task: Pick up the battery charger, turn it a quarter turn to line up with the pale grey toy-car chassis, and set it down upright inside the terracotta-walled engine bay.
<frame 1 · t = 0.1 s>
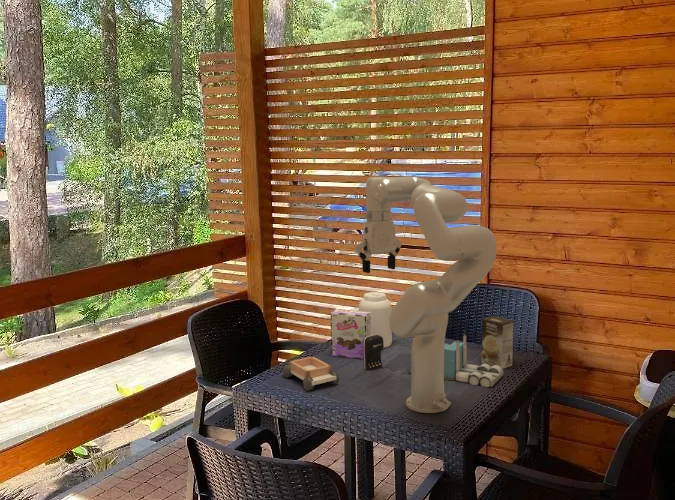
hand: (379, 270, 212), 37 cm above the table, tool pointing down, fingers open, 9 cm apart
candy box: (351, 356, 245), on the table
chassis: (310, 380, 220), on the table
white jar: (375, 345, 258), on the table
battery charger: (374, 368, 231), on the table
coffee box: (496, 364, 233), on the table
truck: (455, 376, 223), on the table
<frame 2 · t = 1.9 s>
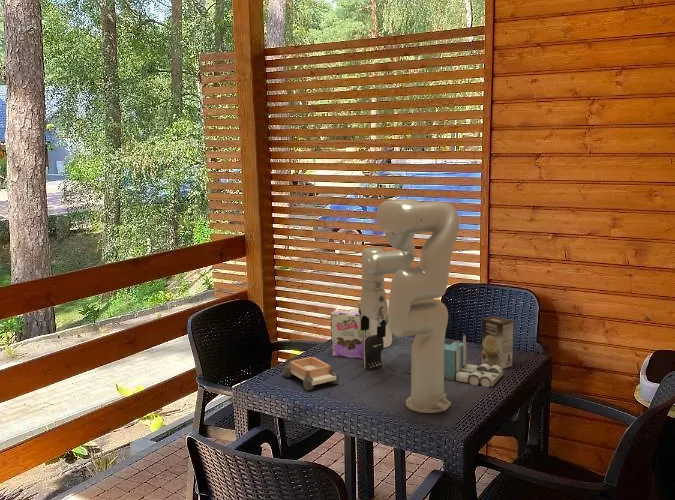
hand: (372, 333, 230), 12 cm above the table, tool pointing down, fingers open, 9 cm apart
nothing on the table moved.
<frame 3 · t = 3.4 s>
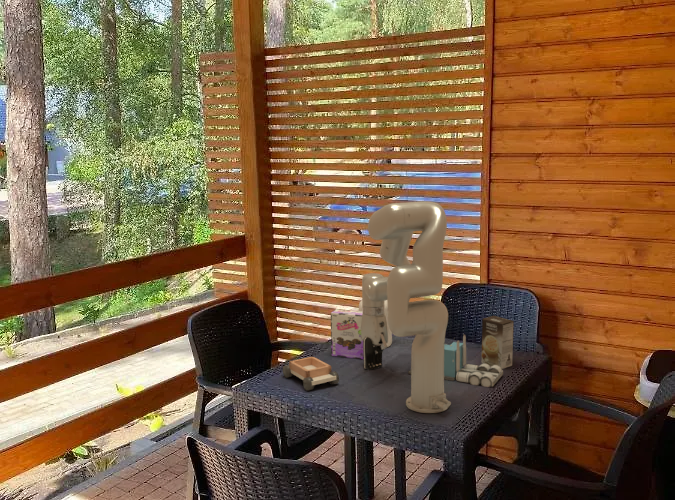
hand: (373, 361, 231), 2 cm above the table, tool pointing down, fingers closed on battery charger, 3 cm apart
battery charger: (374, 368, 231), on the table, touching gripper
everything else where it was.
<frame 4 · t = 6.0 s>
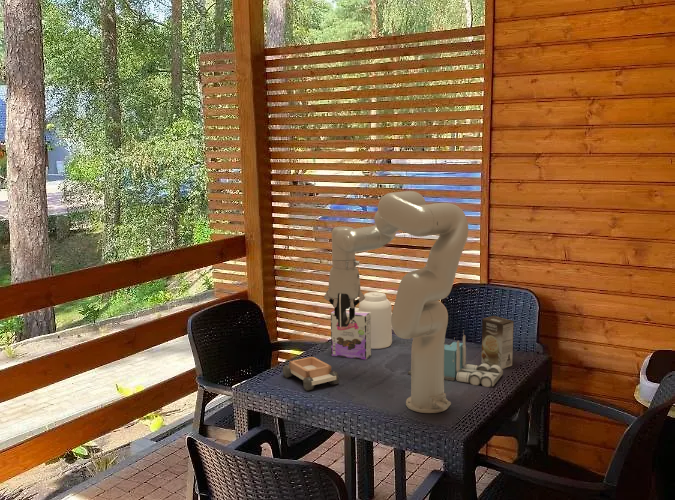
hand: (344, 318, 223), 19 cm above the table, tool pointing down, fingers closed on battery charger, 3 cm apart
battery charger: (345, 325, 224), point 17 cm above the table, touching gripper
everything else where it was.
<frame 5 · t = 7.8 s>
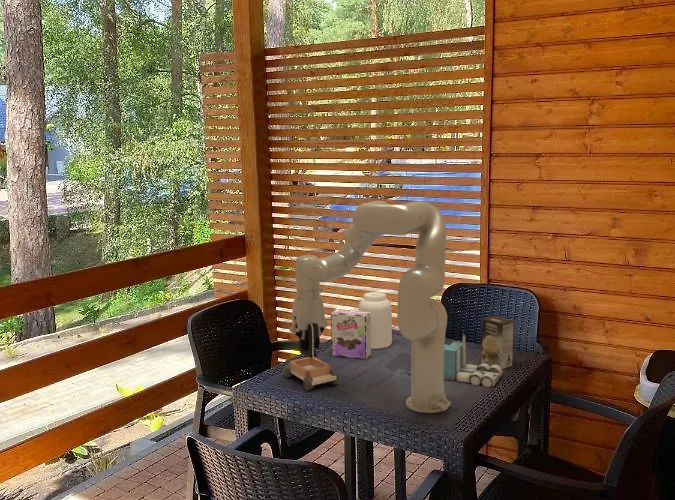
hand: (309, 348, 219), 11 cm above the table, tool pointing down, fingers closed on battery charger, 3 cm apart
battery charger: (310, 355, 219), point 8 cm above the table, touching gripper
everything else where it was.
when the fingers open (6 cm above the table, at t = 9.0 s): battery charger stays where it is, resting on chassis.
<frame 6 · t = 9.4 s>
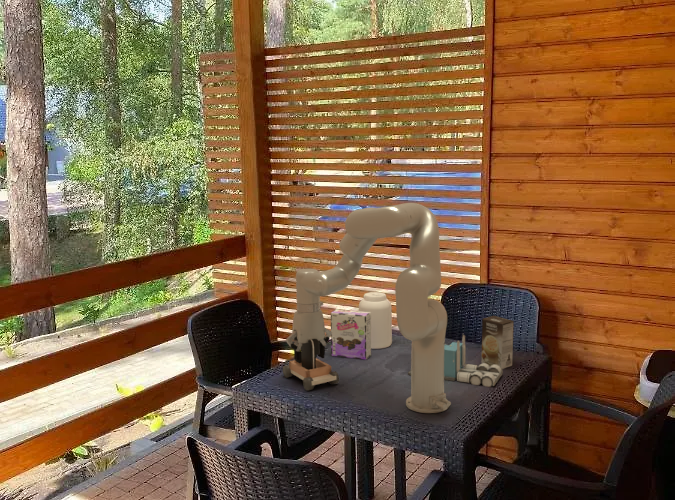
hand: (309, 359, 219), 7 cm above the table, tool pointing down, fingers open, 8 cm apart
battery charger: (311, 371, 220), point 3 cm above the table, touching chassis
everything else where it was.
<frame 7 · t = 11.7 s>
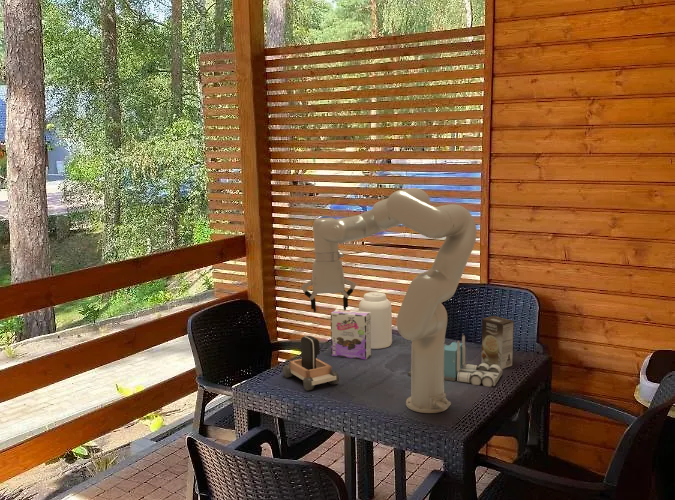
hand: (329, 310, 214), 24 cm above the table, tool pointing down, fingers open, 9 cm apart
nothing on the table moved.
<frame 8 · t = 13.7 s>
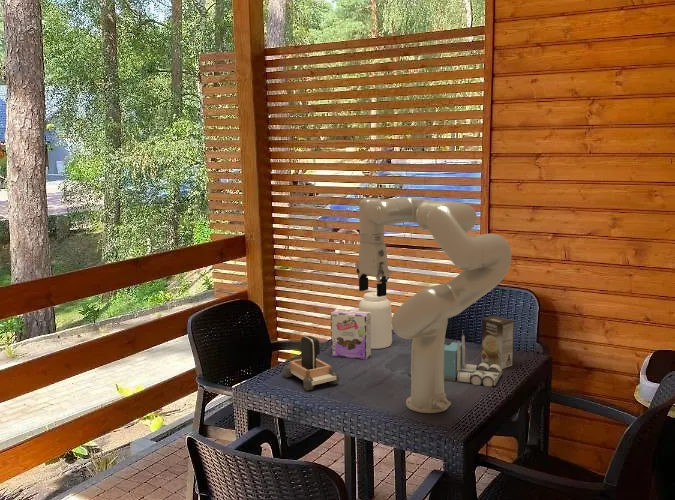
hand: (372, 293, 209), 30 cm above the table, tool pointing down, fingers open, 9 cm apart
at the end: battery charger 0.4 cm off-centre on the chassis, point 3.0 cm above the chassis's base; battery charger tilted 0°; the gripper is holding nothing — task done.
